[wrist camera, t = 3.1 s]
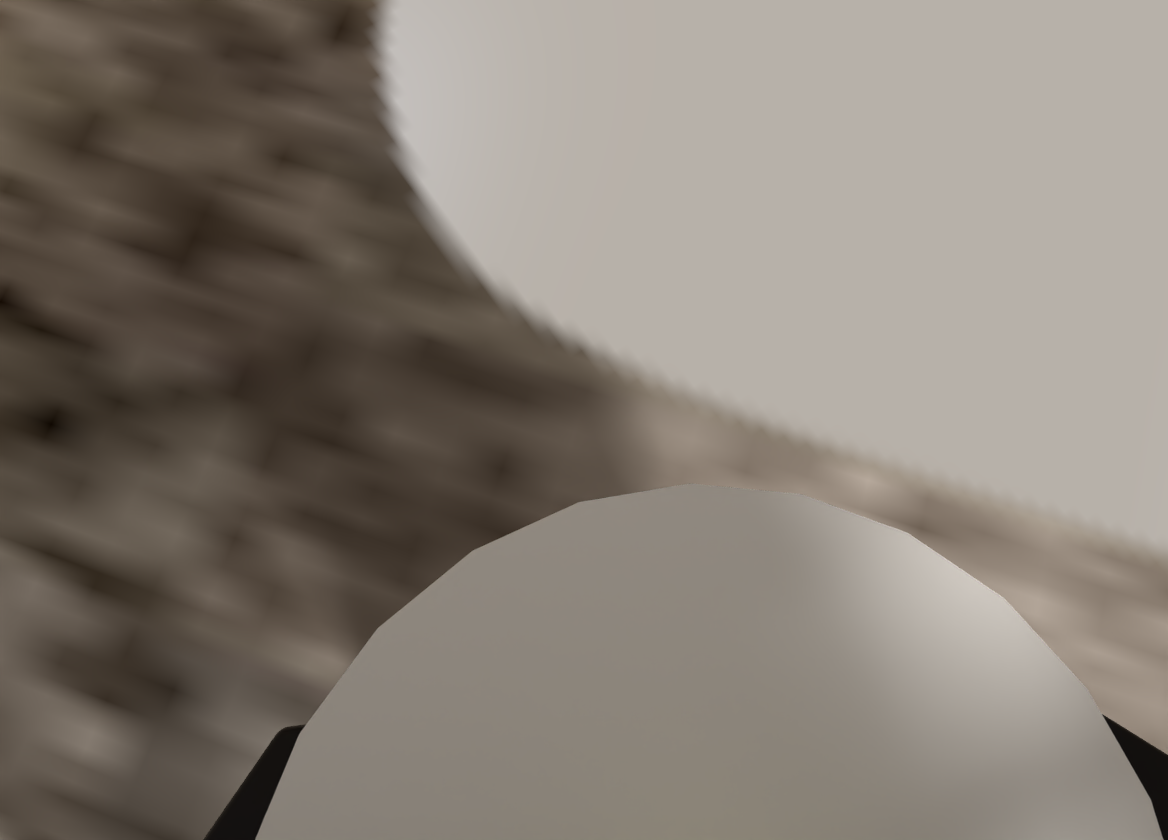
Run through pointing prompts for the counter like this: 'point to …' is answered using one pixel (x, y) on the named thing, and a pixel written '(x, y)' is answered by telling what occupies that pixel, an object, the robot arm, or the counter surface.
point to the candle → (708, 693)
